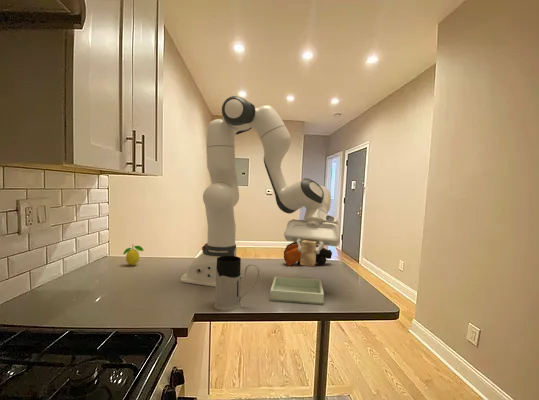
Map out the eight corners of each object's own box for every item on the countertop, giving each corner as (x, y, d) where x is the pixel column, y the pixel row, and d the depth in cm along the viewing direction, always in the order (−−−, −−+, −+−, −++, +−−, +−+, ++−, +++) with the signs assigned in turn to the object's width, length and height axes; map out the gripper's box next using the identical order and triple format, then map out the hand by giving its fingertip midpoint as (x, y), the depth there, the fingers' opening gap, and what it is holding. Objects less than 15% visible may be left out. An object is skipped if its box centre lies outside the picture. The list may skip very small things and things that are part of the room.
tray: (270, 300, 100) (270, 290, 100) (274, 285, 116) (274, 276, 115) (323, 304, 98) (323, 294, 98) (320, 288, 114) (320, 279, 114)
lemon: (143, 265, 138) (143, 243, 138) (133, 268, 133) (133, 245, 132) (132, 263, 141) (132, 242, 140) (122, 266, 135) (122, 244, 135)
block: (300, 264, 105) (301, 241, 104) (303, 261, 109) (304, 239, 108) (312, 266, 103) (314, 243, 103) (315, 263, 107) (316, 241, 107)
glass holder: (218, 298, 100) (219, 254, 100) (260, 302, 98) (261, 257, 98) (209, 309, 92) (210, 261, 91) (255, 313, 90) (257, 264, 89)
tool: (323, 281, 146) (335, 253, 146) (281, 264, 142) (294, 235, 142) (317, 276, 154) (329, 249, 154) (278, 259, 150) (290, 232, 150)
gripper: (287, 213, 115) (278, 243, 106) (341, 218, 108) (336, 250, 100) (290, 224, 120) (281, 253, 111) (342, 229, 113) (337, 260, 104)
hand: (308, 251), depth 105 cm, fingers closed on block, 4 cm apart
